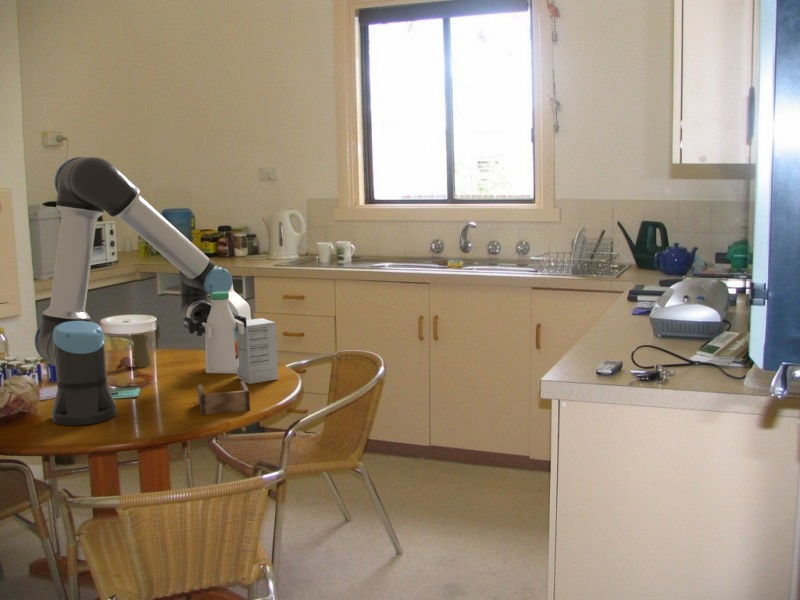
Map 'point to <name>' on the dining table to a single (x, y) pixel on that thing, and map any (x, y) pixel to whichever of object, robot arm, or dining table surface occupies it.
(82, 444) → the dining table surface
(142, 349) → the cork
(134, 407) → the dining table surface
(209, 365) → the milk bottle
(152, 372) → the dining table surface
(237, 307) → the milk
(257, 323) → the supplement box
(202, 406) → the walnut U-rest
